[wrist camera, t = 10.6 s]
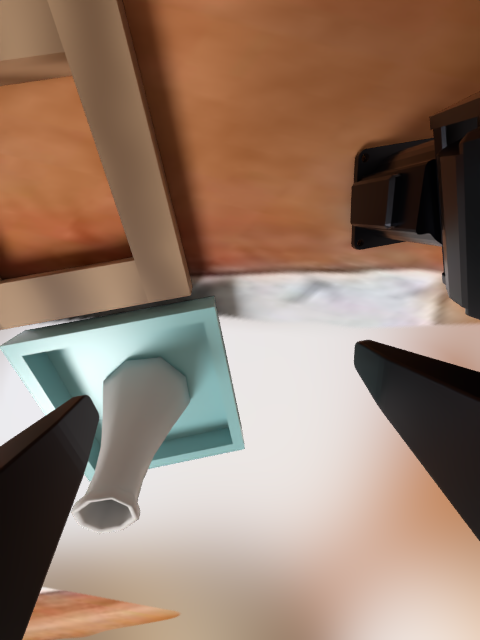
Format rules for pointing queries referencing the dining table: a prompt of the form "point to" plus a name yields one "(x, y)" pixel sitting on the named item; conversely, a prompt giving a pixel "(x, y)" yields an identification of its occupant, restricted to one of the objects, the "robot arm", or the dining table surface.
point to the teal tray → (133, 344)
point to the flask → (130, 439)
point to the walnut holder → (115, 153)
